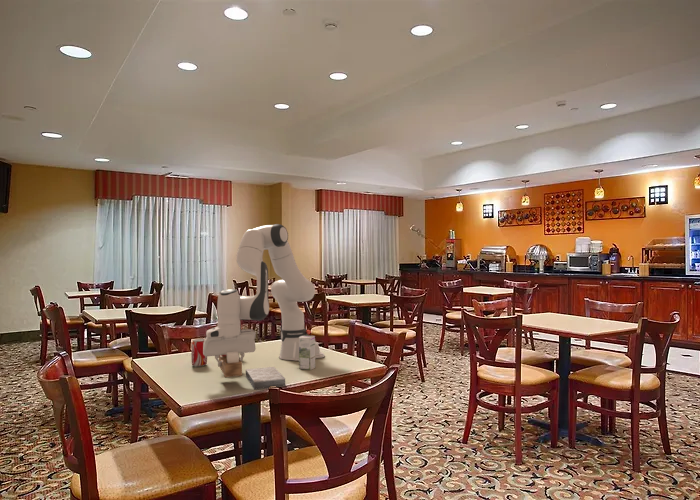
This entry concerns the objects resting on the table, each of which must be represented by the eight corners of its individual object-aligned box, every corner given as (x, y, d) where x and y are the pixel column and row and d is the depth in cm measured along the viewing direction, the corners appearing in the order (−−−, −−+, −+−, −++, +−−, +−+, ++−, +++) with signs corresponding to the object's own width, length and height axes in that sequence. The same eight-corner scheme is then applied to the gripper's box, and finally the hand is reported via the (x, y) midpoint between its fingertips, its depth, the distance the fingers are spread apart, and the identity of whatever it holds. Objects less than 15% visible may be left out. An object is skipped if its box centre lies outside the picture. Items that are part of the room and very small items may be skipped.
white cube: (237, 361, 190) (237, 351, 190) (238, 363, 186) (238, 353, 187) (226, 362, 189) (226, 352, 189) (228, 364, 185) (228, 354, 185)
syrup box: (315, 367, 220) (315, 335, 220) (310, 370, 215) (310, 337, 215) (304, 366, 222) (303, 334, 222) (298, 369, 216) (298, 336, 217)
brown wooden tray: (234, 364, 203) (233, 352, 203) (242, 375, 185) (241, 362, 185) (219, 366, 201) (218, 353, 201) (225, 377, 182) (225, 363, 182)
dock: (273, 373, 209) (273, 366, 209) (285, 386, 188) (285, 378, 188) (245, 376, 205) (245, 369, 205) (254, 389, 184) (254, 381, 184)
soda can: (202, 367, 223) (202, 341, 223) (188, 367, 224) (188, 341, 224) (210, 364, 230) (209, 338, 230) (196, 363, 231) (196, 338, 231)
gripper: (254, 327, 200) (254, 361, 200) (202, 331, 192) (203, 366, 192) (256, 329, 194) (257, 364, 194) (203, 333, 186) (204, 369, 186)
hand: (229, 365), depth 193 cm, fingers closed on brown wooden tray, 6 cm apart
